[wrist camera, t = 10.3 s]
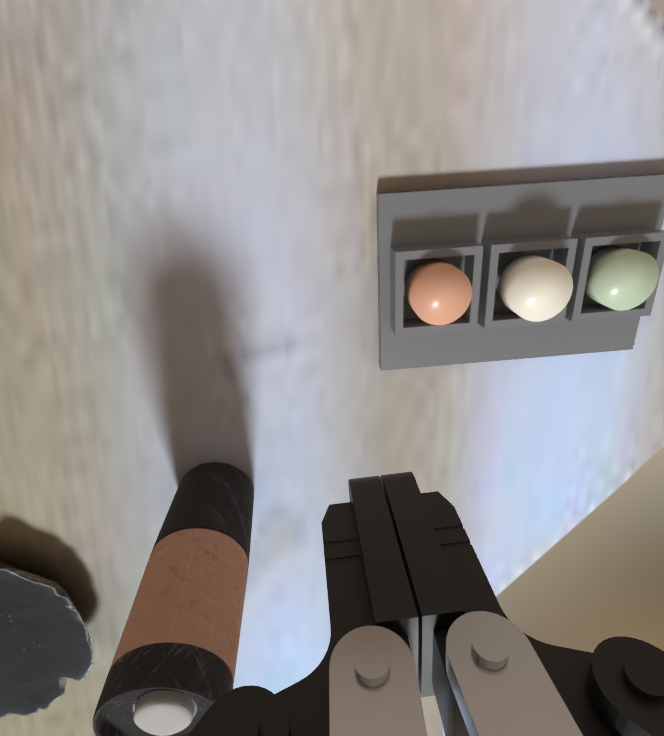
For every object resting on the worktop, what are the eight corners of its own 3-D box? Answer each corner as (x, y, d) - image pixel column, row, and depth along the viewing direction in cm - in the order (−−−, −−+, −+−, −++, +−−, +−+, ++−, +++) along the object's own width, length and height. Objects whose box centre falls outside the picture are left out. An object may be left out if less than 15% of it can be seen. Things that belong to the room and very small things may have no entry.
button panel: (376, 193, 33) (383, 196, 31) (664, 173, 34) (696, 174, 32) (379, 365, 39) (385, 380, 37) (624, 344, 40) (648, 358, 37)
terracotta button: (404, 261, 34) (412, 268, 32) (462, 257, 34) (474, 263, 32) (404, 317, 36) (411, 327, 34) (459, 312, 36) (469, 322, 34)
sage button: (586, 247, 35) (606, 253, 32) (641, 243, 35) (665, 249, 32) (576, 303, 36) (594, 312, 34) (629, 299, 37) (651, 308, 34)
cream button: (501, 256, 33) (515, 263, 31) (558, 252, 34) (577, 259, 31) (495, 313, 35) (509, 324, 33) (550, 309, 36) (567, 319, 33)
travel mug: (236, 449, 42) (191, 670, 24) (269, 508, 45) (251, 743, 27) (161, 475, 42) (60, 710, 24) (198, 531, 46) (134, 777, 27)
